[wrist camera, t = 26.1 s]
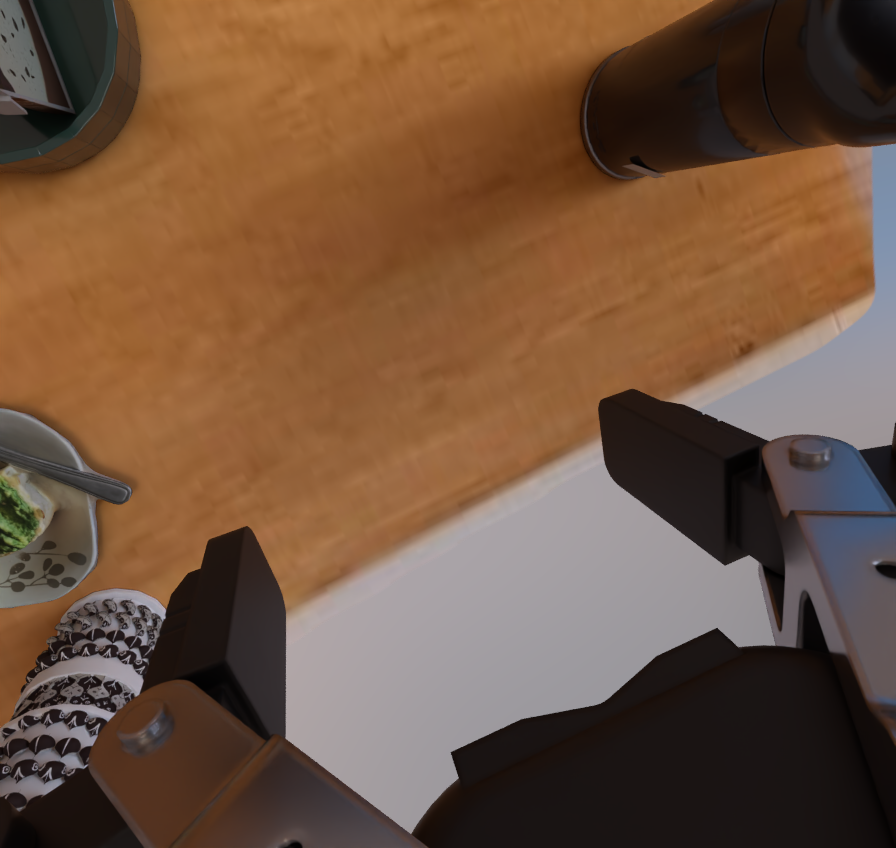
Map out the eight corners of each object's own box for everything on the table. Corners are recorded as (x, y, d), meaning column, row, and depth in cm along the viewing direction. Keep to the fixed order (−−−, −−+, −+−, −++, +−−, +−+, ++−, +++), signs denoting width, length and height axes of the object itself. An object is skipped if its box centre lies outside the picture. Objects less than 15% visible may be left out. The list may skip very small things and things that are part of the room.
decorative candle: (115, 564, 42) (-83, 945, 19) (200, 625, 46) (117, 998, 23) (25, 632, 42) (-282, 1099, 19) (118, 688, 46) (-45, 1125, 23)
